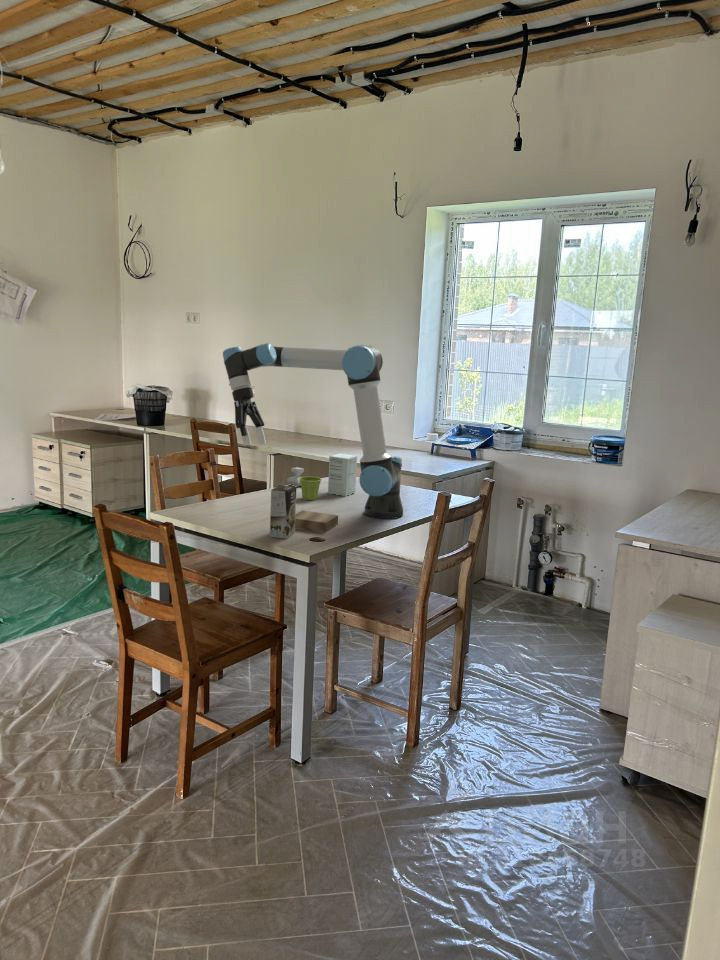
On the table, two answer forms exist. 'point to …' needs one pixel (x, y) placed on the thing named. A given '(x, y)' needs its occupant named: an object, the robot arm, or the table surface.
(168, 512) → the table surface
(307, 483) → the plant pot
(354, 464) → the supplement box
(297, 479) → the stamp
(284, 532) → the coffee box
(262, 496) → the table surface
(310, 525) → the walnut riser block
